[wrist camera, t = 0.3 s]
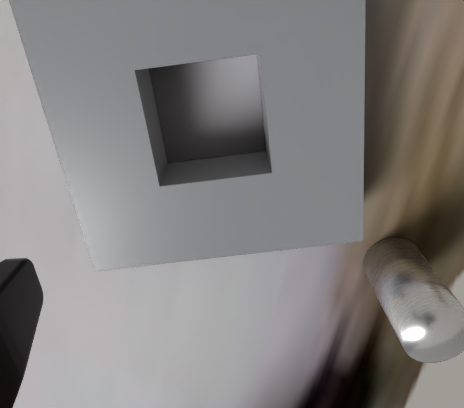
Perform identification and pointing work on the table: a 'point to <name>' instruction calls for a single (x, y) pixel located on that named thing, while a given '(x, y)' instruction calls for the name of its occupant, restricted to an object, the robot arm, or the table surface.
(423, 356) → the steel pin
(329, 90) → the hole plate
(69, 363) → the table surface
